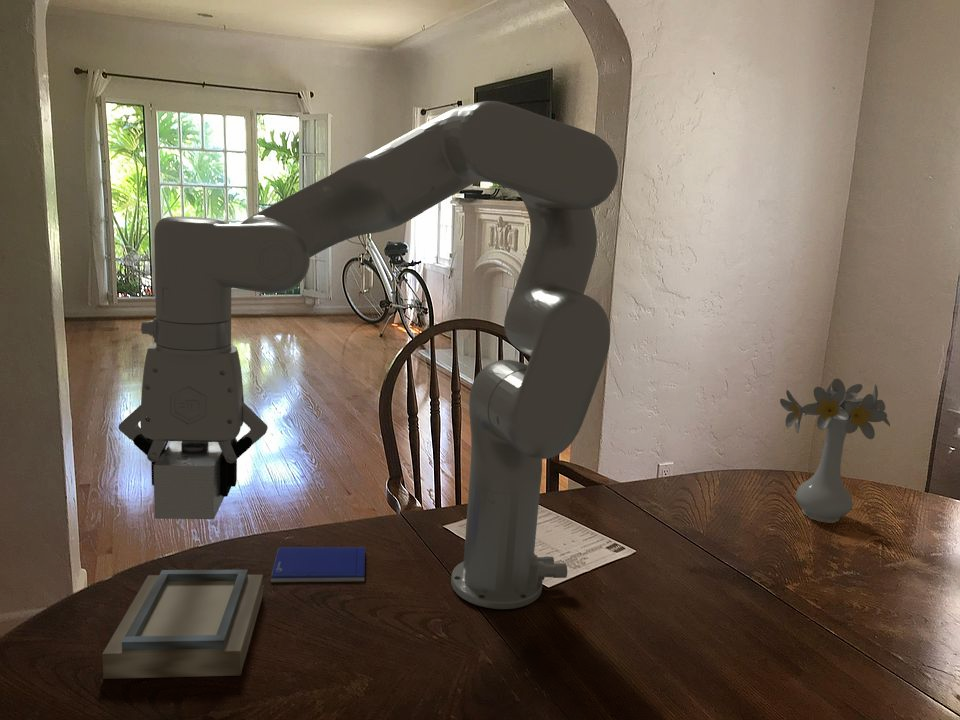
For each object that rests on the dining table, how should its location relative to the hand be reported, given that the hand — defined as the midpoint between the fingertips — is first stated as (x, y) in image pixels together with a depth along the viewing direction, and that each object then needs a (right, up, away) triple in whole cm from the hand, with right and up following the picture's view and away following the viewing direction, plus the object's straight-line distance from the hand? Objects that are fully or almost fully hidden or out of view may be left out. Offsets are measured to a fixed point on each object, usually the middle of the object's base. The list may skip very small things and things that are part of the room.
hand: (195, 490), depth 83 cm
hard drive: (+9, -15, +21) cm, 28 cm away
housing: (0, -1, 0) cm, 1 cm away
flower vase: (+93, -14, +49) cm, 106 cm away
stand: (-2, -18, +4) cm, 18 cm away
